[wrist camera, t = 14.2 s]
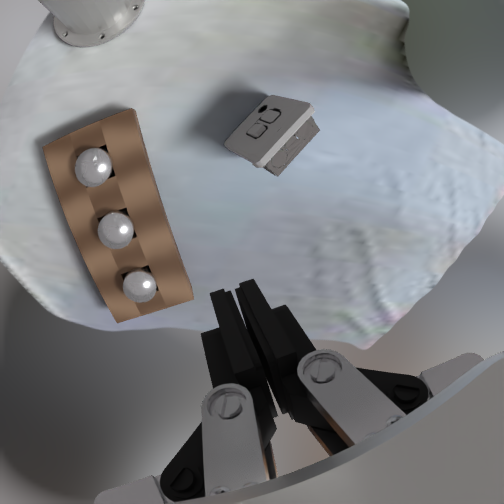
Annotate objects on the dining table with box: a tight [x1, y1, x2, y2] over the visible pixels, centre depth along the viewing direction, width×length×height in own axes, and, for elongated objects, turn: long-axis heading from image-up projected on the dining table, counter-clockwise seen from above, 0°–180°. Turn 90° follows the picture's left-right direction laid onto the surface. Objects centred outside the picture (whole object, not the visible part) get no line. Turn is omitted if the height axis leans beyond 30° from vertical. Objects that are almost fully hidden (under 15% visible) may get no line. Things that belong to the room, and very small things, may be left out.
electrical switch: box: [224, 95, 320, 176], centre depth 33 cm, size 9×5×9 cm, turn 137°
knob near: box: [75, 148, 114, 187], centre depth 30 cm, size 4×4×4 cm
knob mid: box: [98, 208, 135, 249], centre depth 33 cm, size 4×4×4 cm
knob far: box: [123, 265, 156, 303], centre depth 37 cm, size 4×4×4 cm
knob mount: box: [43, 108, 194, 323], centre depth 34 cm, size 26×12×4 cm, turn 13°
